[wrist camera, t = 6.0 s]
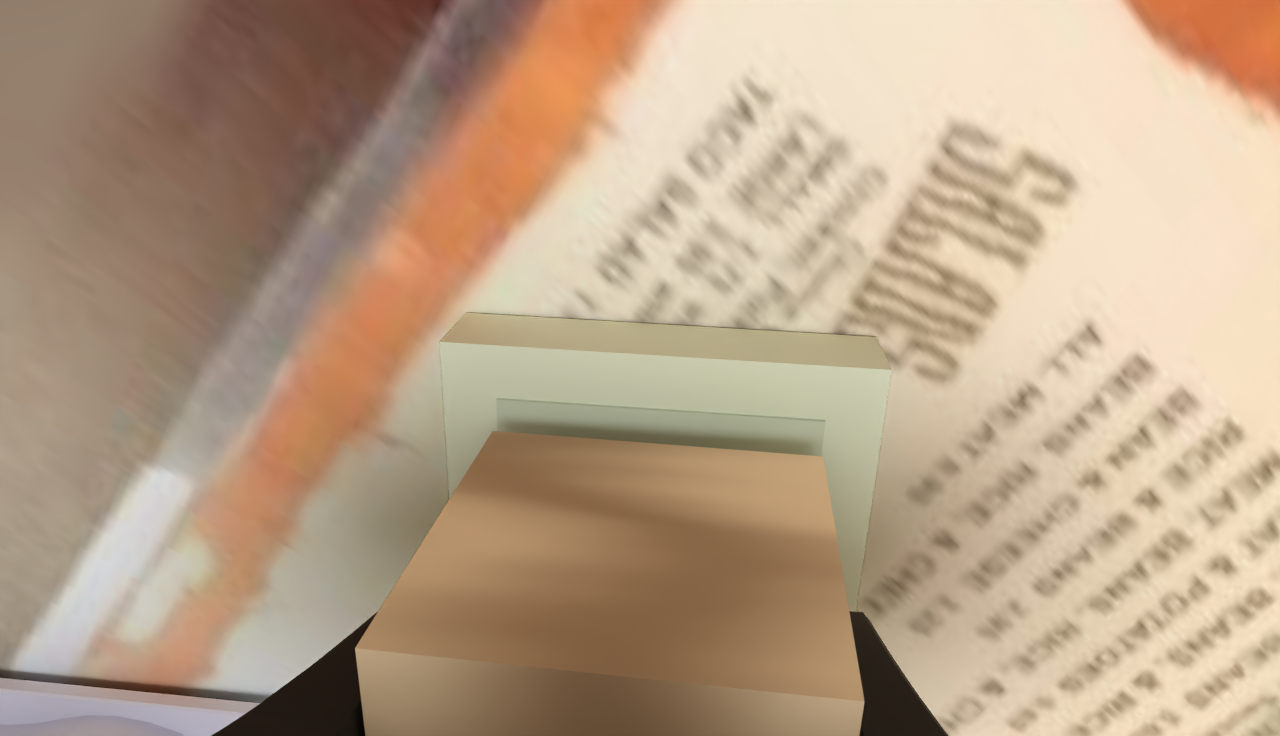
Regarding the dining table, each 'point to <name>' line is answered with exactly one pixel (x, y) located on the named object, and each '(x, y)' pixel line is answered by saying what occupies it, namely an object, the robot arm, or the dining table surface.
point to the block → (619, 599)
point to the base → (675, 397)
